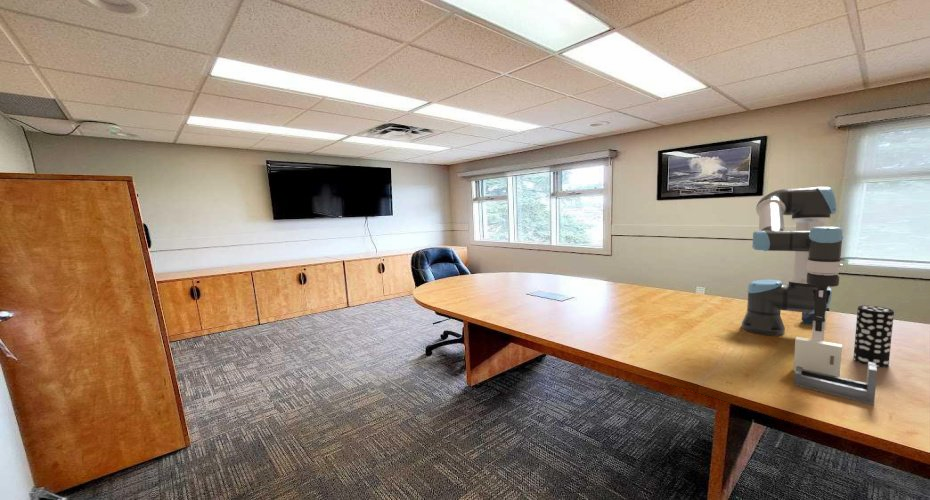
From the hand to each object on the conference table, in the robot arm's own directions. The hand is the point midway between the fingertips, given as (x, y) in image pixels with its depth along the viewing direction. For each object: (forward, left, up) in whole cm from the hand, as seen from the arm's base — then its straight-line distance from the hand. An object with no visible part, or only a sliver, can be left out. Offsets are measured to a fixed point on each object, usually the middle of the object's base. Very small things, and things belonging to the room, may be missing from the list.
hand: (818, 334), depth 116 cm
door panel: (0, 0, -15) cm, 15 cm away
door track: (+4, -10, -15) cm, 18 cm away
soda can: (-4, +63, -15) cm, 65 cm away
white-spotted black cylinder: (+13, +24, -15) cm, 31 cm away
